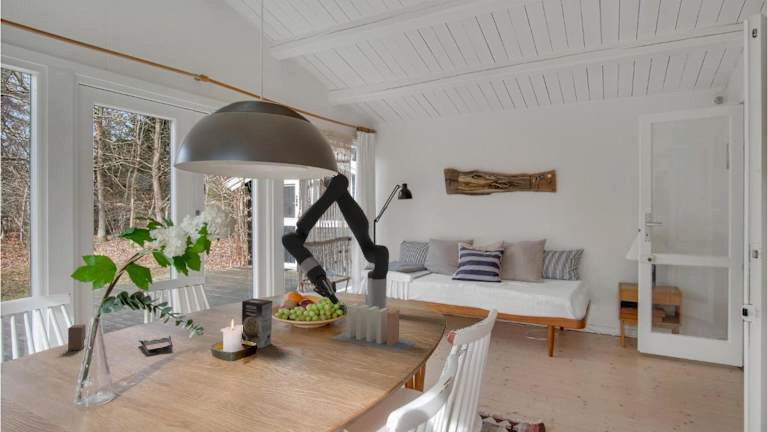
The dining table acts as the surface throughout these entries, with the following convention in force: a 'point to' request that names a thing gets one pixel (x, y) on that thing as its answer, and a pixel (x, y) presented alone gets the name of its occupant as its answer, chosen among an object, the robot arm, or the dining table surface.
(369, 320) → the domino
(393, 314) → the domino
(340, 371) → the dining table surface
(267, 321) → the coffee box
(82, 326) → the wooden block
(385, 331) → the domino
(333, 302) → the robot arm
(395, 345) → the grey ridged plate
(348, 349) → the dining table surface
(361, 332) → the domino
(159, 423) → the dining table surface
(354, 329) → the domino
